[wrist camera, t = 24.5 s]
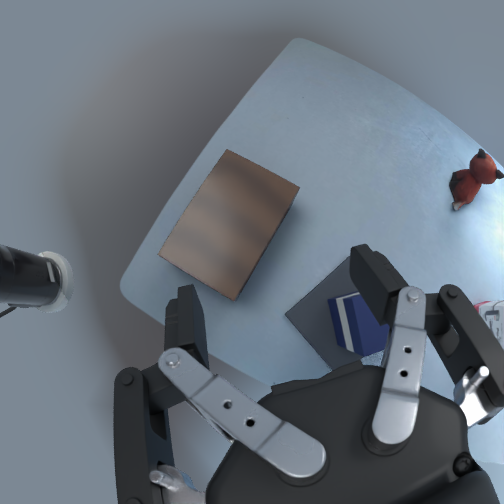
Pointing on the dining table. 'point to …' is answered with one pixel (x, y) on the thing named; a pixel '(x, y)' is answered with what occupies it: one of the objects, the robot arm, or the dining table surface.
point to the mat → (324, 317)
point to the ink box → (493, 317)
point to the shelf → (229, 224)
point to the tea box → (356, 325)
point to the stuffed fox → (473, 178)
